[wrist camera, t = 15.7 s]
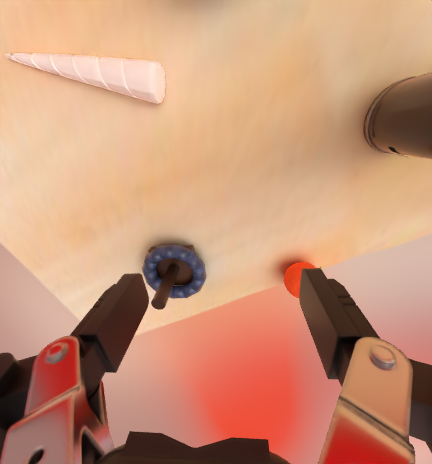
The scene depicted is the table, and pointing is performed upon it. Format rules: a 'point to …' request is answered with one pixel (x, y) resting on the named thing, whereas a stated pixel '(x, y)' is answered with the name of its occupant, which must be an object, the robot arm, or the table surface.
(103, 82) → the unicorn horn
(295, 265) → the clementine
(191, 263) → the ring
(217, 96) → the table surface
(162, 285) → the peg stand
